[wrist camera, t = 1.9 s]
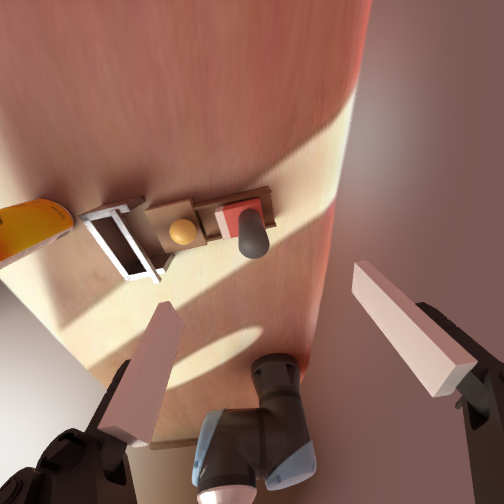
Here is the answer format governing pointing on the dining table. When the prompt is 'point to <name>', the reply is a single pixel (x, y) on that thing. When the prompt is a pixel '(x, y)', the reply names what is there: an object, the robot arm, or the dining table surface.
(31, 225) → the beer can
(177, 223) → the ball
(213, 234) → the rail
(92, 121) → the dining table surface
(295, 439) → the robot arm
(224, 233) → the post on red base
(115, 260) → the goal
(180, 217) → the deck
